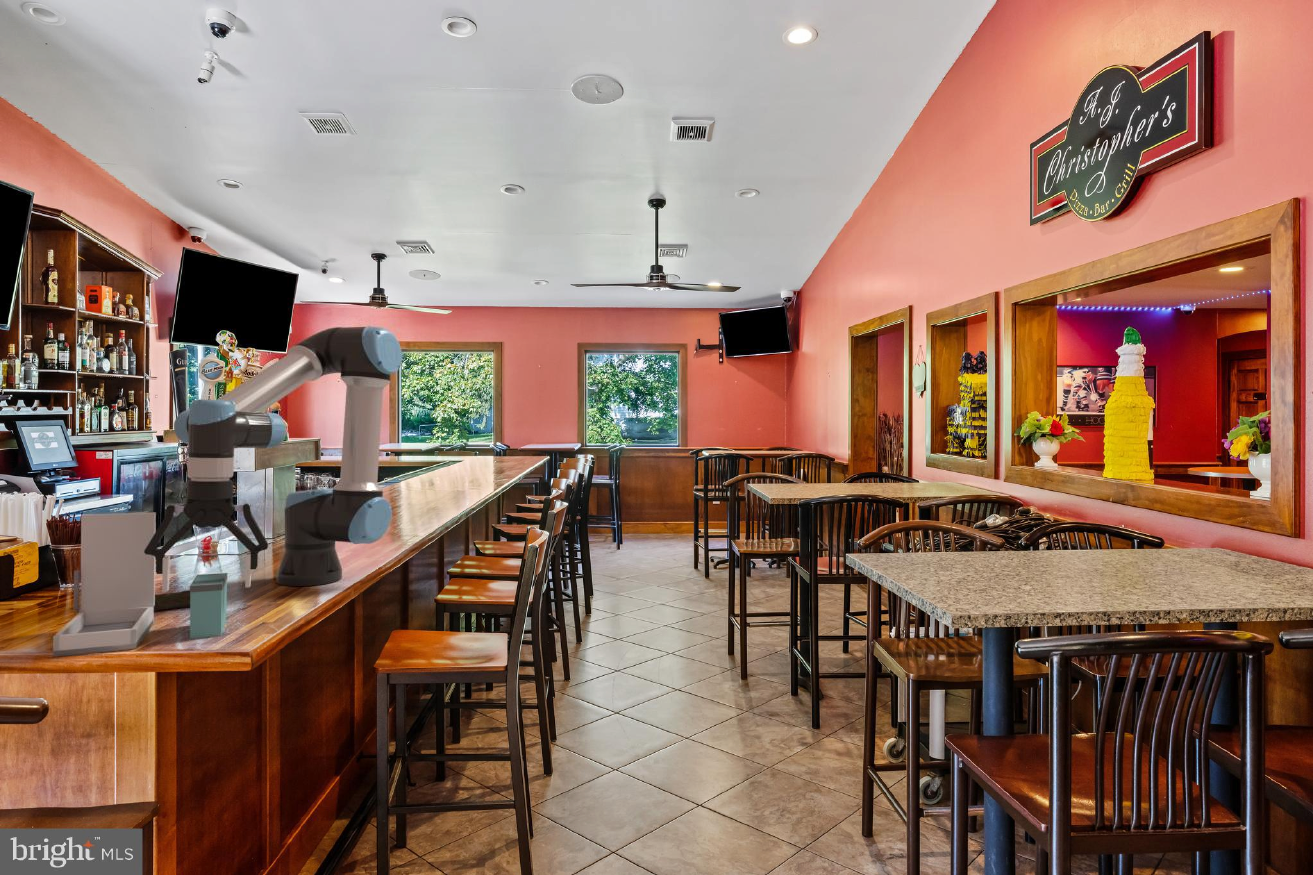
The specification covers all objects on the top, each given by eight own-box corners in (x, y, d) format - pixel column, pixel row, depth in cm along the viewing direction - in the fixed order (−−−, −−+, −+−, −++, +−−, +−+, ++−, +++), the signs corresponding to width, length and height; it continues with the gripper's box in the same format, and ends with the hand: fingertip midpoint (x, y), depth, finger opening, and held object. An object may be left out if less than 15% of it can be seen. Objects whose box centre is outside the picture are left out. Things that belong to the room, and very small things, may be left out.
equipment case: (154, 622, 142) (155, 512, 142) (136, 648, 127) (137, 525, 126) (76, 628, 137) (76, 514, 136) (46, 657, 121) (47, 528, 121)
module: (226, 621, 144) (227, 572, 144) (221, 636, 135) (222, 583, 135) (196, 624, 142) (197, 574, 142) (189, 639, 133) (189, 586, 133)
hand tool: (213, 602, 159) (213, 581, 159) (217, 605, 156) (217, 584, 156) (106, 616, 147) (107, 593, 147) (108, 620, 144) (108, 597, 144)
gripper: (283, 477, 147) (280, 580, 147) (136, 477, 136) (133, 588, 136) (282, 480, 140) (279, 588, 140) (127, 480, 129) (124, 597, 129)
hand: (207, 588), depth 138 cm, fingers open, 13 cm apart
